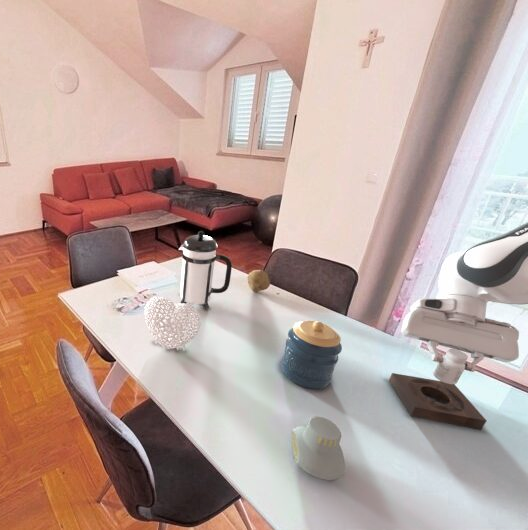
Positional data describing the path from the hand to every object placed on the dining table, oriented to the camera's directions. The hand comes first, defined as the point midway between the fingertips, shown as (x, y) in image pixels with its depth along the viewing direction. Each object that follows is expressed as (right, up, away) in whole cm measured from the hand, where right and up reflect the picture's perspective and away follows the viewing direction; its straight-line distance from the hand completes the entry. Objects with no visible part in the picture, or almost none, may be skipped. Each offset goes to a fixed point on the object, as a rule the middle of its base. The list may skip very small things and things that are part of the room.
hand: (452, 365), depth 75 cm
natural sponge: (-22, +13, +60) cm, 65 cm away
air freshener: (-38, -18, -8) cm, 43 cm away
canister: (-27, -7, +16) cm, 32 cm away
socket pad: (0, -11, +6) cm, 13 cm away
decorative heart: (-64, -3, +26) cm, 70 cm away
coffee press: (-49, +9, +53) cm, 73 cm away
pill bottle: (0, -4, +2) cm, 5 cm away
